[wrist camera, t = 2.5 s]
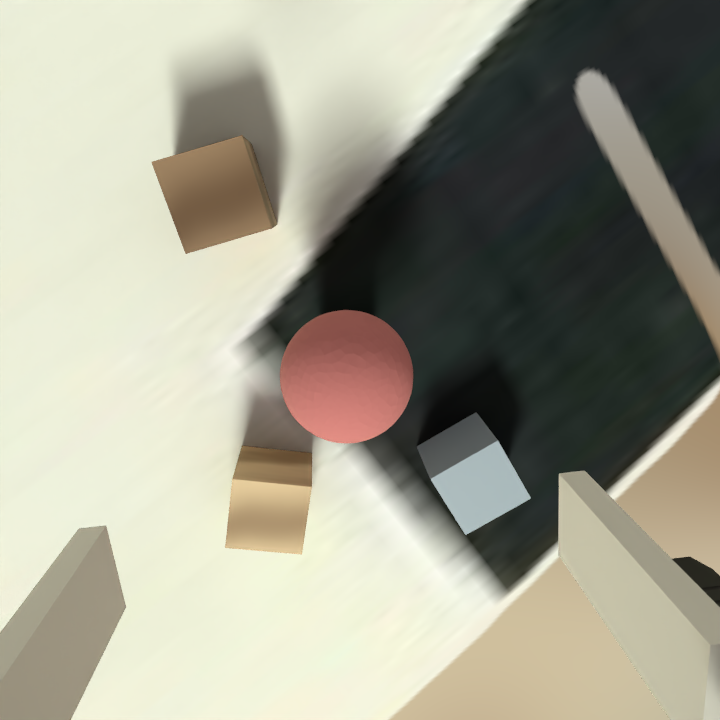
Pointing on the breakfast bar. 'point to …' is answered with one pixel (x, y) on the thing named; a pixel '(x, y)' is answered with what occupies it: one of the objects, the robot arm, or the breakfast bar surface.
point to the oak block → (269, 500)
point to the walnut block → (215, 193)
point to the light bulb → (346, 376)
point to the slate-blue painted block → (472, 473)
